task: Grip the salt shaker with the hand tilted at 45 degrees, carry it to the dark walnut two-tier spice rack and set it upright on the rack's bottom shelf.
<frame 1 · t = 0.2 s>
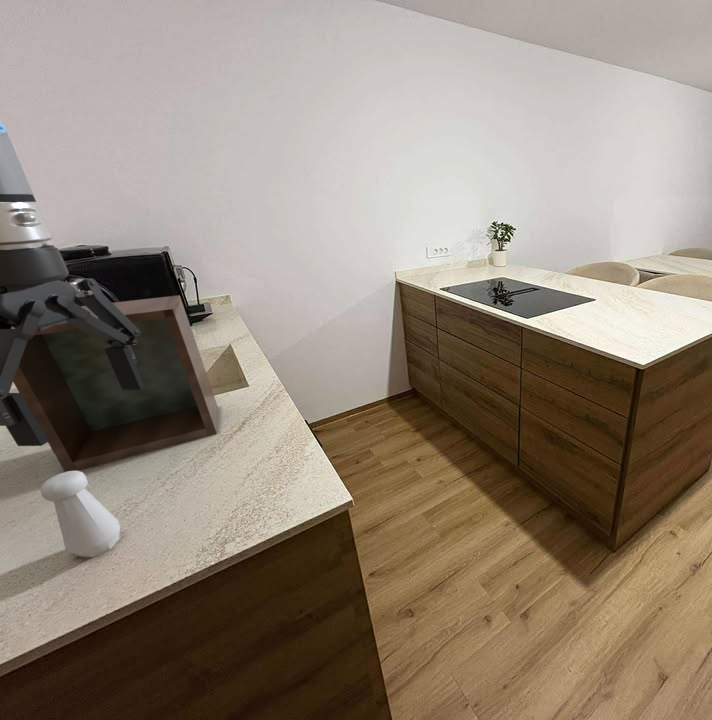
hand: (89, 413, 49), 22 cm above the counter, tool pointing down, fingers open, 13 cm apart
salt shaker: (100, 547, 56), on the counter
spice rack: (152, 436, 82), on the counter
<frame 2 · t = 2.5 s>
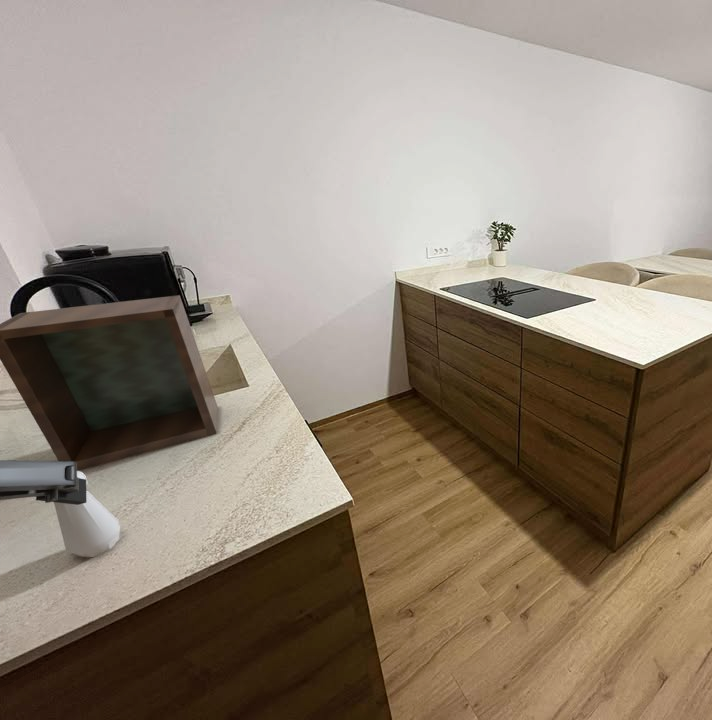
hand: (1, 512, 41), 16 cm above the counter, tool tilted 45°, fingers open, 13 cm apart
nothing on the counter moved.
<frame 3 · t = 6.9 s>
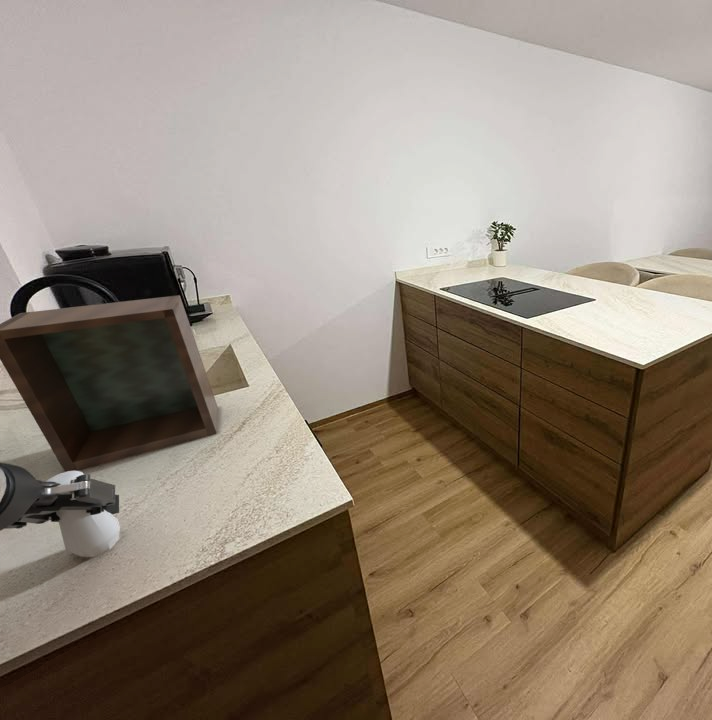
hand: (100, 508, 58), 4 cm above the counter, tool tilted 45°, fingers closed on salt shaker, 3 cm apart
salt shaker: (100, 547, 56), on the counter, touching gripper
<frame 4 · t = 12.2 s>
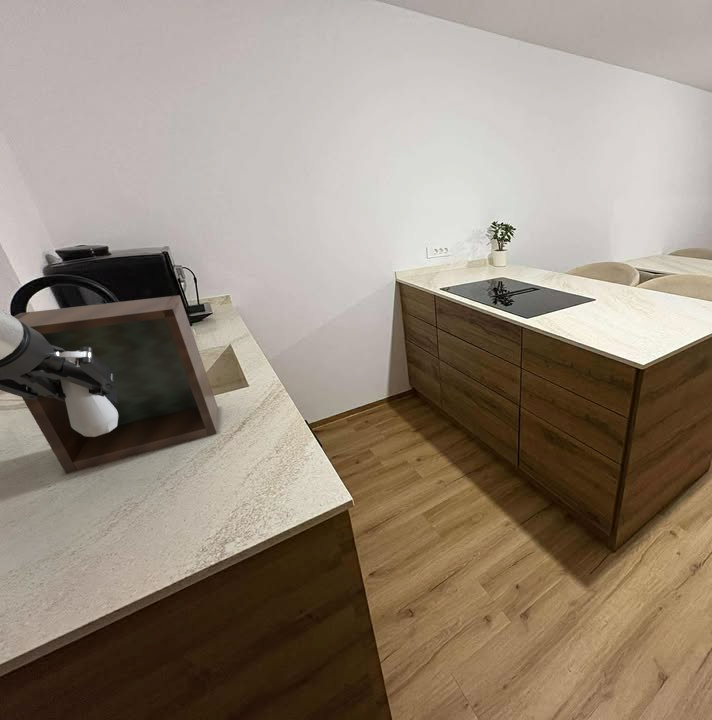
hand: (101, 399, 66), 15 cm above the counter, tool tilted 45°, fingers closed on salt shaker, 3 cm apart
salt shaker: (101, 431, 64), point 11 cm above the counter, touching gripper
when the fingers open (6 cm above the counter, at t = 17.3 s): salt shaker stays where it is, resting on spice rack.
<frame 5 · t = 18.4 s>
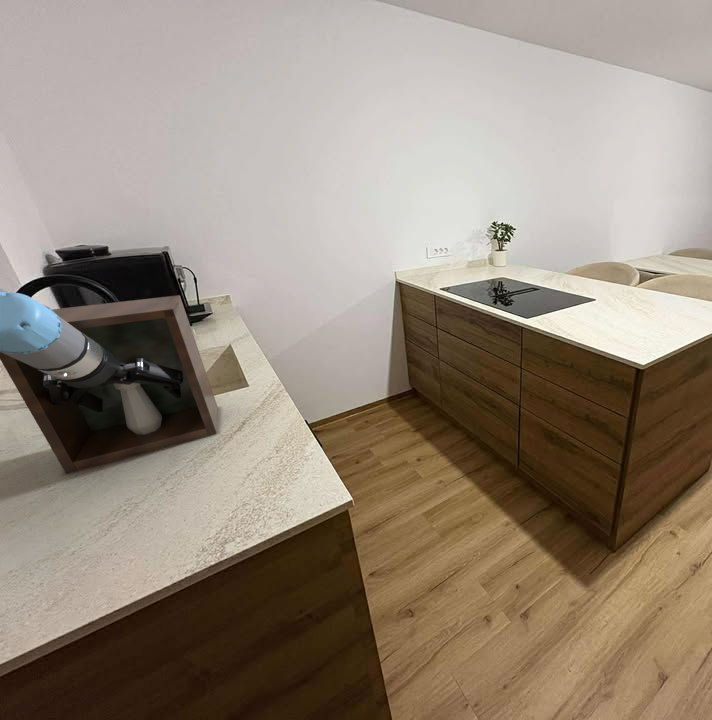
hand: (140, 398, 80), 8 cm above the counter, tool tilted 45°, fingers open, 13 cm apart
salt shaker: (148, 430, 81), point 2 cm above the counter, touching spice rack
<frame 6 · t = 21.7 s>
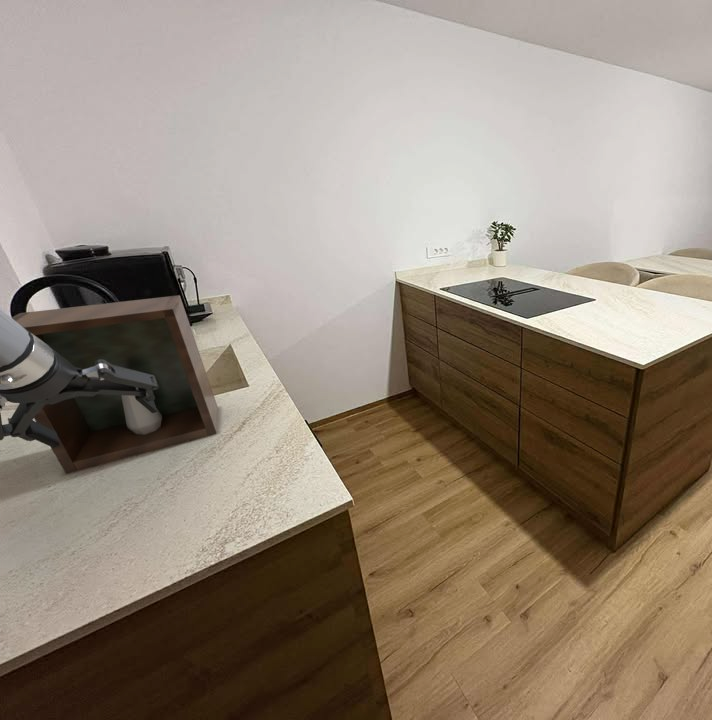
hand: (106, 422, 67), 11 cm above the counter, tool tilted 40°, fingers open, 13 cm apart
nothing on the counter moved.
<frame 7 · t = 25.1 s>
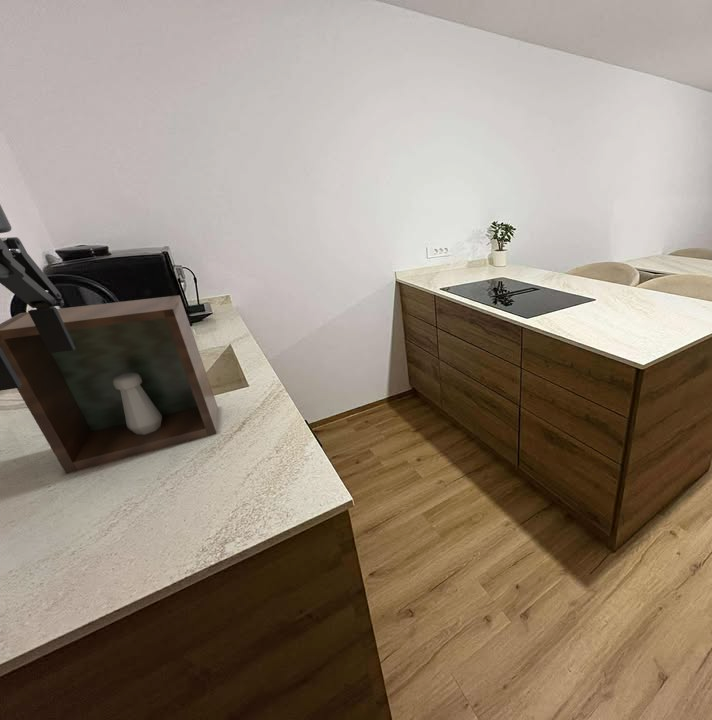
hand: (37, 368, 51), 27 cm above the counter, tool pointing down, fingers open, 13 cm apart
nothing on the counter moved.
at the end: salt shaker inside the target area on the spice rack (0.1 cm from its centre), point 1.8 cm above the spice rack's base; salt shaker tilted 0°; the gripper is holding nothing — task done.
